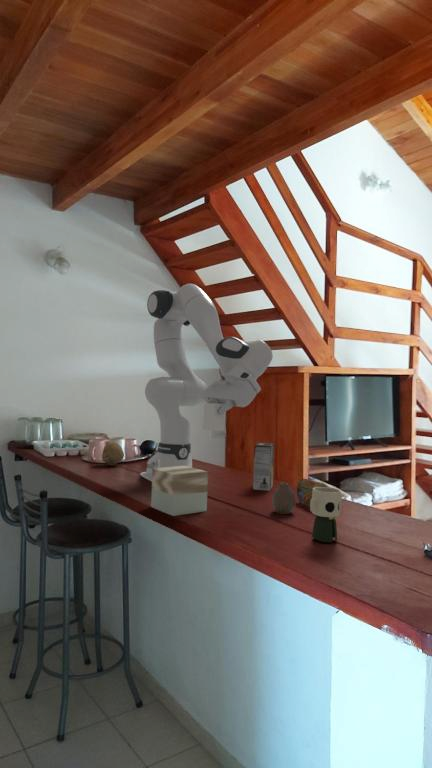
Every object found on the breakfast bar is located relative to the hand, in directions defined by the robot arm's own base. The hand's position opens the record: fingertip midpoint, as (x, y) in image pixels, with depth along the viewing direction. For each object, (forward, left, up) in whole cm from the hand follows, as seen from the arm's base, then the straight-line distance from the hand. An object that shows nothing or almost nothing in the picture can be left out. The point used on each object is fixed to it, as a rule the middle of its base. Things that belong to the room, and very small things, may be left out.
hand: (213, 412), depth 172 cm
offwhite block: (0, +1, -5) cm, 5 cm away
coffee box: (-13, +34, -29) cm, 47 cm away
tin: (+16, +29, -29) cm, 44 cm away
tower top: (-2, -10, -23) cm, 26 cm away
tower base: (-2, -10, -29) cm, 31 cm away
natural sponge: (-77, +6, -29) cm, 83 cm away
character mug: (+43, +4, -29) cm, 52 cm away
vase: (+17, +15, -29) cm, 37 cm away
